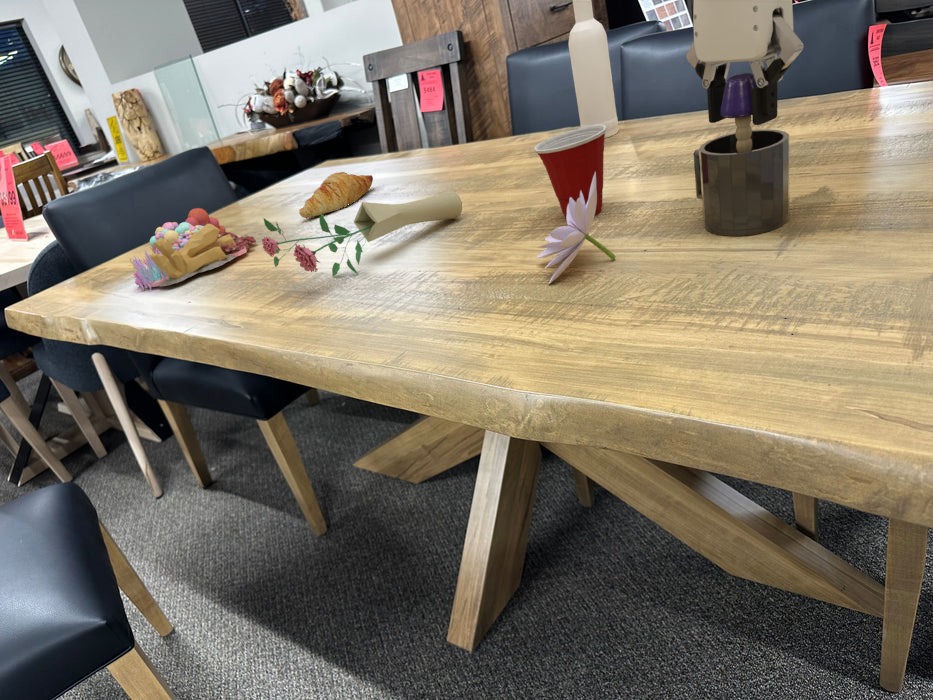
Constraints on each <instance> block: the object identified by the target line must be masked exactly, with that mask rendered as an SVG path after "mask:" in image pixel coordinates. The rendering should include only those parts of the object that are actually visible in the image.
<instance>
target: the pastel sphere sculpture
mask: <svg viewBox="0 0 933 700" xmlns="http://www.w3.org/2000/svg"><path fill="white" fill-rule="evenodd" d="M256 243H257V240H256V238H255V237H254V236H250V235H246V236H242V235H238V234H237V235H236V234H235V233H233V232H232V231H231V232H230V231H226V228H225V226H223V225H220V221H219V220H218V219H217V218H216V217H213V216H211V217H210V216H209V213H208V212H207V211H206V210H205V209H203V208H201V207H195V208H192V209H191V210H190V211H189V212H188V215H187V218H186V219H185V221H183V222H181V223H179V224H178V222H177V221H173V222H170V221H167V222H165V223H163V225H162V226H158V227H157V228H156V229H155V231H154V235H153V236H151V237H150V239H149V245H150V246H149V249H150V250H152V252H151V254H148V252H147V250H146V249H145V250H144V255H145V256H144V257H145V258H144V257H143V258H142V259H143V261H142V259H140V258H139V257H136V256H133V258H130V257H129V262H130V264H131V265H132V267H133V269H134V270H135V272H134V273H133V276H134V277H133V278H134V280H135V282H134V283H135V285H136V286H138V288H141V290H142V291H144V290H145V288H146V289H149V290H150V291H152V288H155V287H159V288H160V287H166V286H172V285H174V284H178V283H181V282H183V281H185V280H187V279H188V278H191V277H192V276H193V277H194V276H195V275H196V274H199V273H203V272H204V273H205V272H206V271H210V270H213V269H216V268H218V267H221V266H223V265H225V264H226V263H228V262H231V261H232V260H234V259H235V258H238V257H239V256H242V255H244V254H246V253H248V249H252V248H255V247H256V245H254V244H256Z"/></svg>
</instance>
